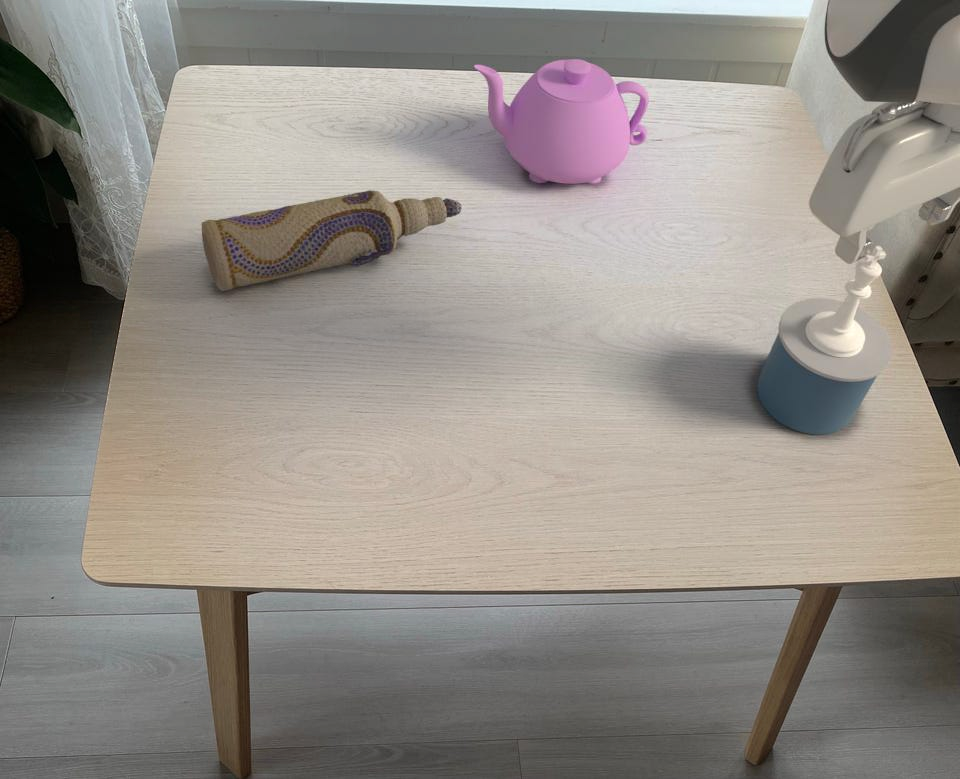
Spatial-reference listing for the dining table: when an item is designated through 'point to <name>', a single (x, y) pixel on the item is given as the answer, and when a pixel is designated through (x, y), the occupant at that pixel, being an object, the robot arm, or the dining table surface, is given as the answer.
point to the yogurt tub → (819, 372)
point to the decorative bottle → (314, 235)
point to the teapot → (567, 121)
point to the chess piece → (846, 313)
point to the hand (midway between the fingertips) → (890, 237)
